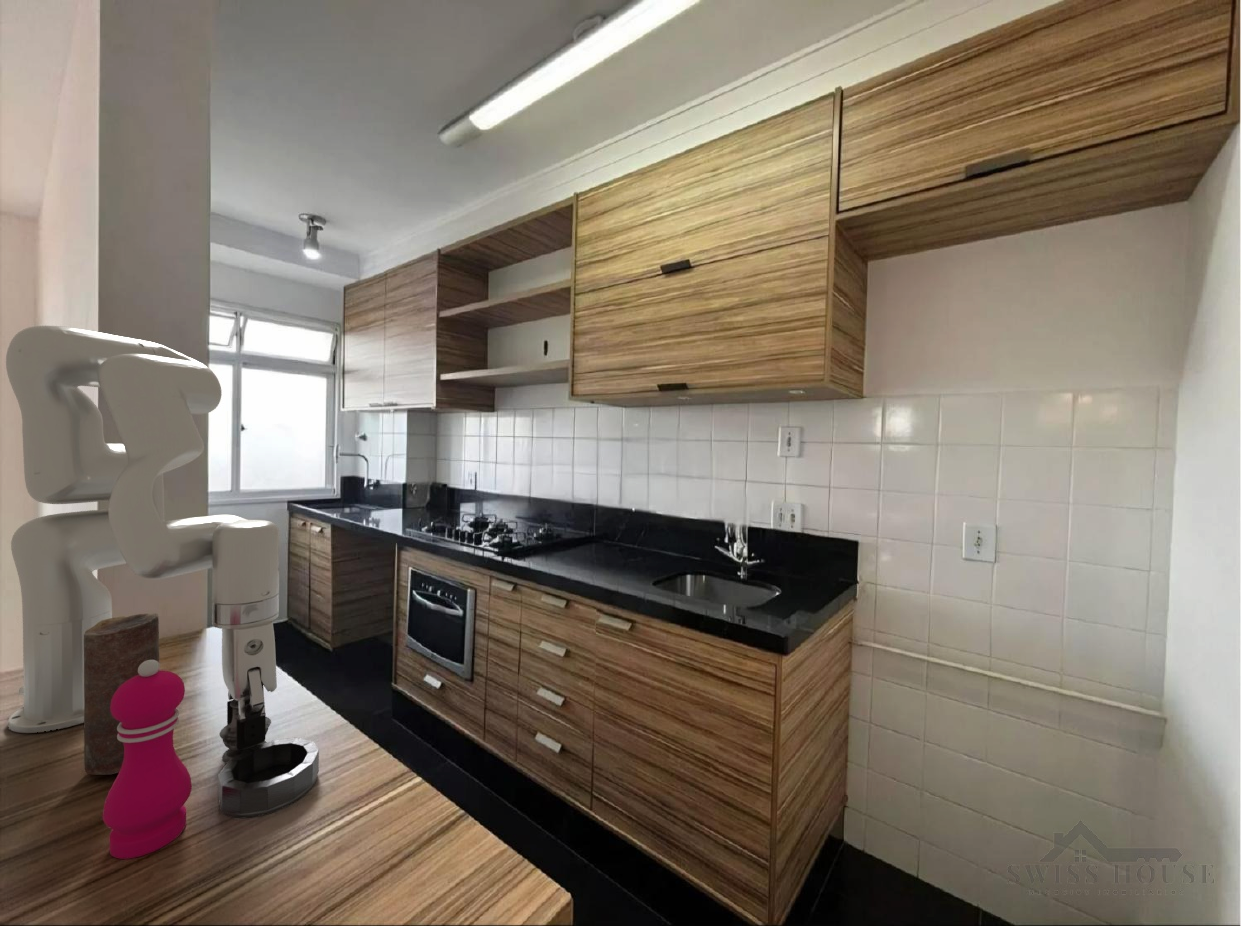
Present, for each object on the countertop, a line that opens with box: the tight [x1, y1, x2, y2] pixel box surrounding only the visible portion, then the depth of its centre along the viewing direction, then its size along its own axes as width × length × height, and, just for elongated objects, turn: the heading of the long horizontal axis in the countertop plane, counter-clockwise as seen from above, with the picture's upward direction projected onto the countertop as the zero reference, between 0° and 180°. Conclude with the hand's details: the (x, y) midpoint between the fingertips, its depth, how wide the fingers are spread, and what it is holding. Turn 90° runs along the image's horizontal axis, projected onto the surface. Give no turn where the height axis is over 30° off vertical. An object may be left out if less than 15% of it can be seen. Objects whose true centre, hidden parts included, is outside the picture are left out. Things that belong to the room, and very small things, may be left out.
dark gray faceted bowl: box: [217, 737, 320, 819], centre depth 65 cm, size 10×10×4 cm
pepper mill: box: [102, 660, 193, 860], centre depth 56 cm, size 7×7×20 cm
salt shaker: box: [219, 691, 272, 764], centre depth 72 cm, size 6×6×12 cm
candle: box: [83, 612, 160, 776], centre depth 68 cm, size 8×7×20 cm
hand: (245, 733), depth 72 cm, fingers closed on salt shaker, 5 cm apart
